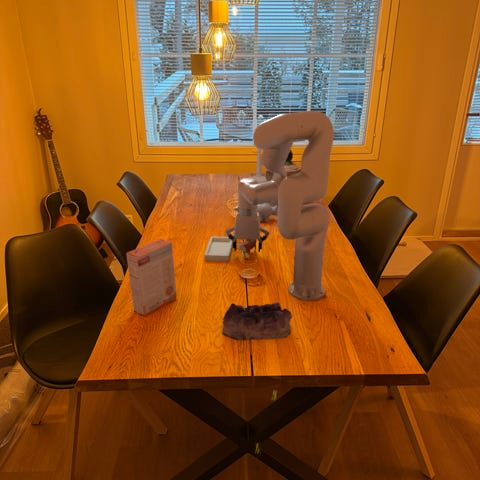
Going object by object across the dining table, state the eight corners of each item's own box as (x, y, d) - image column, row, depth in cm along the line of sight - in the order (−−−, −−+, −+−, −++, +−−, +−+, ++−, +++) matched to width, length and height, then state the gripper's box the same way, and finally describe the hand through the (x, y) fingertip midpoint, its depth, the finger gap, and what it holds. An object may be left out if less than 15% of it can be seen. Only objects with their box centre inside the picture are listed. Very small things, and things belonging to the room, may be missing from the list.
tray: (228, 261, 174) (228, 255, 173) (204, 260, 174) (204, 255, 173) (233, 242, 191) (233, 237, 190) (211, 241, 191) (211, 236, 190)
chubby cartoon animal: (282, 223, 211) (283, 206, 208) (256, 223, 212) (256, 206, 208) (281, 218, 218) (282, 201, 215) (256, 218, 218) (256, 201, 215)
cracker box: (165, 293, 151) (160, 237, 143) (177, 299, 148) (173, 242, 139) (132, 310, 141) (125, 251, 133) (144, 317, 138) (138, 257, 129)
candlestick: (259, 176, 291) (260, 130, 279) (272, 180, 282) (274, 132, 270) (244, 179, 283) (244, 132, 271) (258, 183, 274) (258, 135, 262)
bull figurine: (235, 261, 174) (234, 242, 170) (250, 249, 184) (250, 231, 181) (245, 264, 172) (245, 245, 168) (259, 251, 183) (260, 233, 179)
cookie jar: (303, 212, 225) (307, 150, 213) (256, 210, 229) (256, 149, 216) (304, 198, 248) (308, 140, 235) (261, 196, 251) (262, 139, 239)
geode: (224, 348, 123) (222, 316, 121) (221, 329, 134) (218, 299, 132) (295, 340, 126) (294, 308, 123) (286, 322, 137) (285, 292, 134)
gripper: (224, 213, 167) (225, 253, 174) (270, 214, 166) (268, 255, 173) (226, 206, 174) (227, 245, 181) (270, 207, 173) (269, 247, 180)
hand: (247, 250), depth 177 cm, fingers open, 9 cm apart
